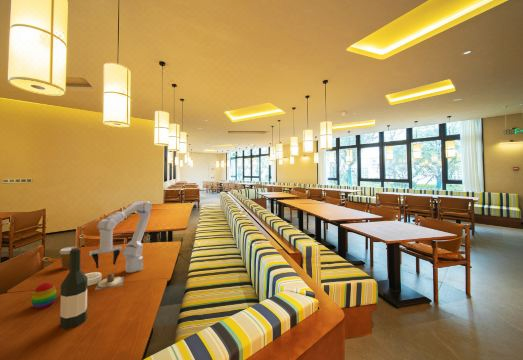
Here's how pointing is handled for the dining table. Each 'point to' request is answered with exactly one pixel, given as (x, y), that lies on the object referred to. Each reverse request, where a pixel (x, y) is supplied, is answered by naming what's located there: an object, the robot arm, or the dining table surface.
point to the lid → (110, 281)
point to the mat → (109, 287)
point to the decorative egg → (44, 295)
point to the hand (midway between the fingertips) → (105, 265)
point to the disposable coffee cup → (65, 257)
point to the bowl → (93, 278)
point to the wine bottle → (74, 294)
